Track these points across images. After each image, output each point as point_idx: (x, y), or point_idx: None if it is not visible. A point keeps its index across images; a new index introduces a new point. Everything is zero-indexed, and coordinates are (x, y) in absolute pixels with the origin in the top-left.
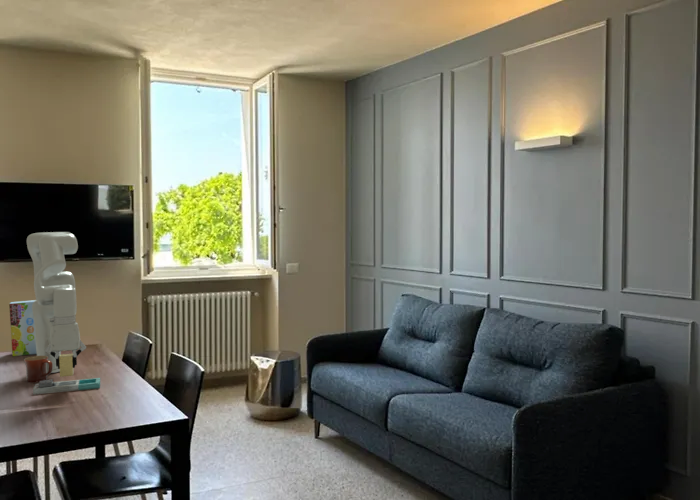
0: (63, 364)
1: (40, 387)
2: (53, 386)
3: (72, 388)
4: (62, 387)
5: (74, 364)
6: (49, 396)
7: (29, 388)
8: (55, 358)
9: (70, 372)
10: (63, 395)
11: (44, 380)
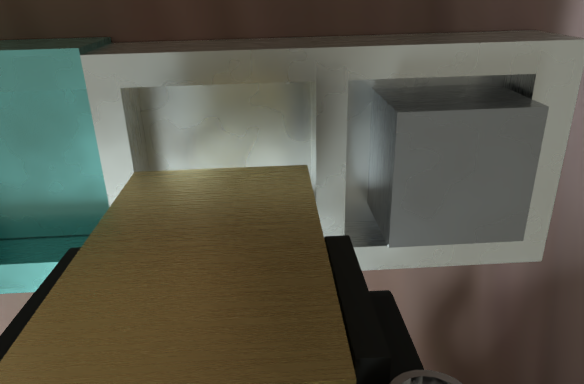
0: (250, 255)
1: (505, 96)
2: (369, 228)
3: (159, 47)
4: (266, 45)
5: (51, 285)
6: (389, 22)
7: (539, 344)
8: (447, 378)
9: (155, 189)
10: (256, 9)
11: (477, 230)
